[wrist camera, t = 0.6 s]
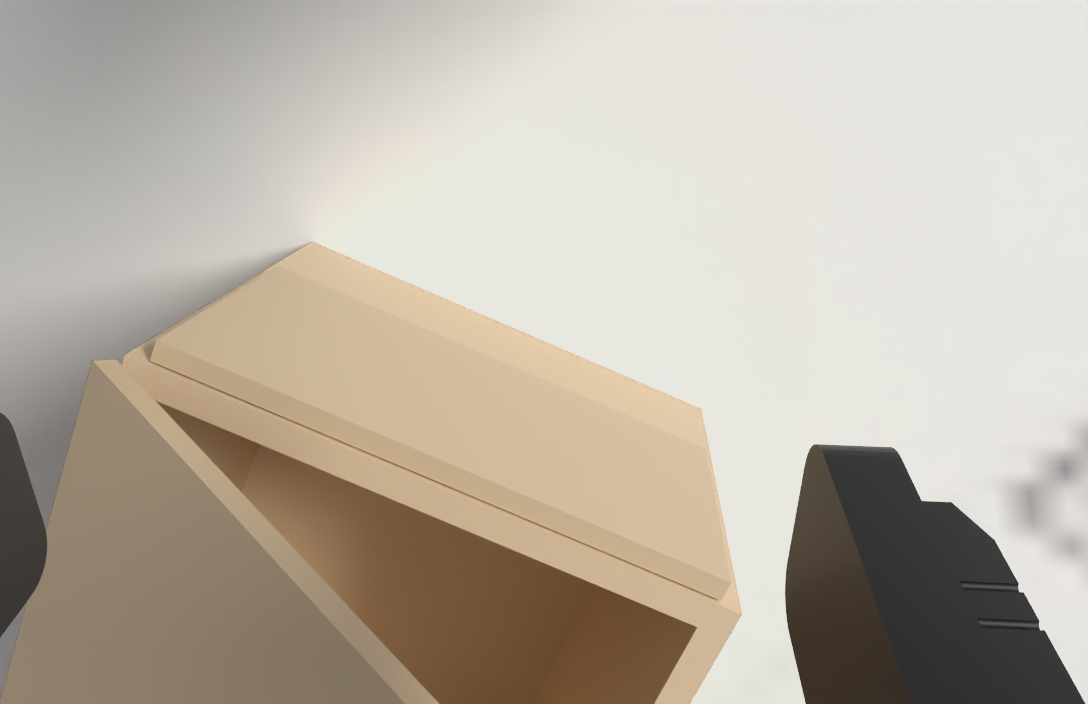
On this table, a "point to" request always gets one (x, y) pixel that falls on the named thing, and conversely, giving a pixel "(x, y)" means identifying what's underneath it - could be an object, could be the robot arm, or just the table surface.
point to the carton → (461, 484)
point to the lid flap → (179, 583)
